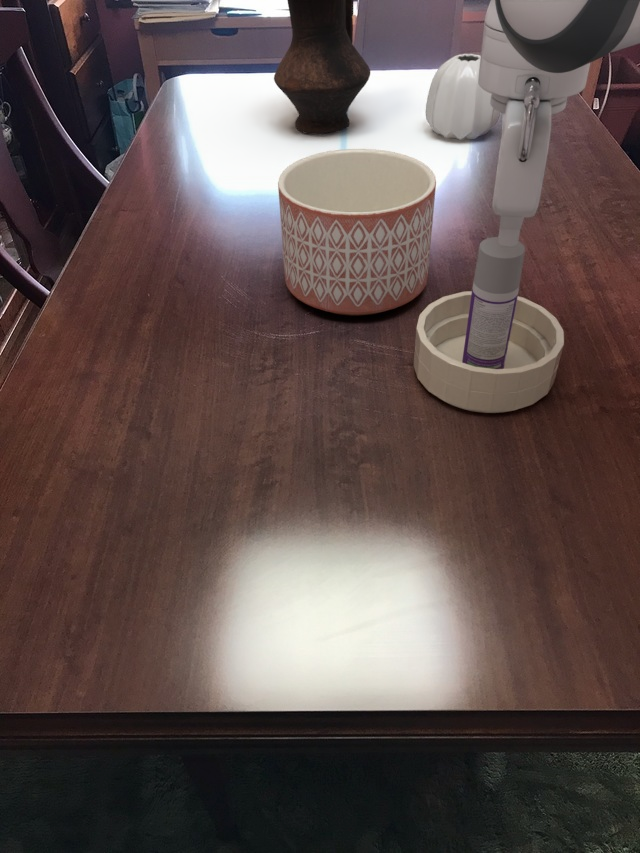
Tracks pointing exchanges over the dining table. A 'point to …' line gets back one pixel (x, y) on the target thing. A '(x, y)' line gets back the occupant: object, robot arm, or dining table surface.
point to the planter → (356, 229)
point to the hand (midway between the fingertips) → (509, 219)
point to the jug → (321, 65)
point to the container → (493, 303)
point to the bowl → (483, 387)
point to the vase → (460, 100)
